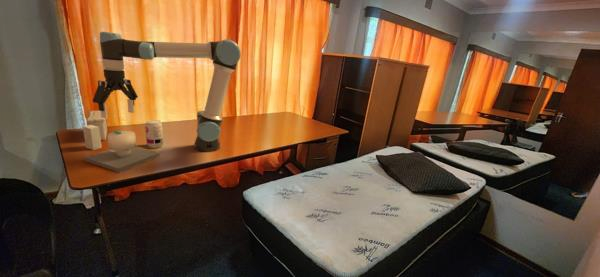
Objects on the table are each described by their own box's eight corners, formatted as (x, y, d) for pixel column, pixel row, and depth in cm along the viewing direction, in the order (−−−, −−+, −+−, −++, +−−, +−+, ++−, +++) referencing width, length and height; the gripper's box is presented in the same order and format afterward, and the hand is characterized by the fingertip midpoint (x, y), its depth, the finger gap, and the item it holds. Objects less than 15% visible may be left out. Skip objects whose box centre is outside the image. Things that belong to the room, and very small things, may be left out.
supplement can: (146, 149, 135) (144, 123, 130) (147, 143, 141) (145, 119, 137) (162, 148, 138) (161, 123, 134) (163, 143, 145) (161, 119, 140)
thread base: (159, 156, 128) (158, 144, 126) (118, 172, 108) (117, 159, 106) (128, 147, 134) (127, 136, 132) (84, 160, 114) (82, 147, 112)
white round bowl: (141, 145, 122) (140, 132, 120) (120, 151, 112) (118, 137, 110) (125, 140, 125) (123, 127, 123) (103, 146, 115) (101, 132, 113)
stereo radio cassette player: (92, 130, 149) (87, 99, 143) (109, 130, 154) (105, 99, 147) (89, 142, 133) (83, 107, 127) (107, 141, 138) (103, 107, 132)
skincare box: (102, 147, 129) (99, 126, 125) (93, 150, 125) (90, 128, 121) (94, 145, 131) (91, 124, 127) (85, 147, 127) (82, 126, 123)
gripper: (131, 68, 119) (134, 109, 126) (76, 68, 96) (84, 118, 103) (144, 70, 118) (146, 111, 125) (91, 70, 95) (98, 121, 101)
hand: (118, 115), depth 114 cm, fingers open, 13 cm apart
